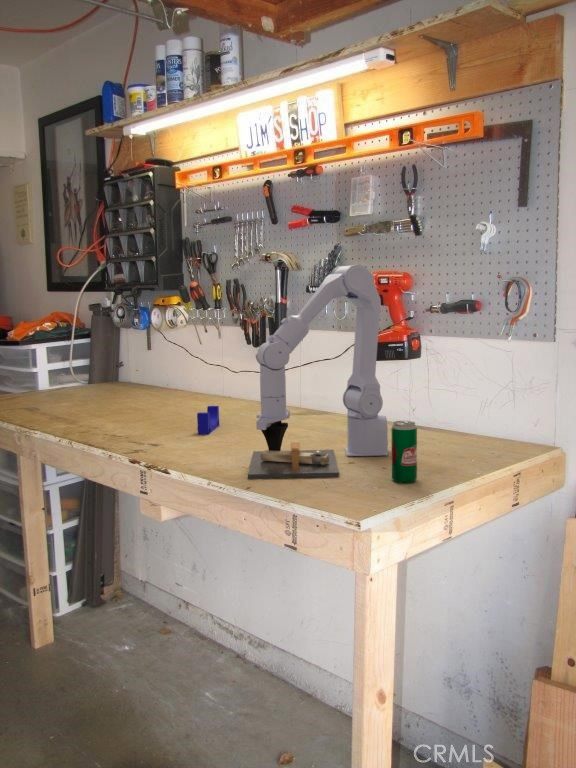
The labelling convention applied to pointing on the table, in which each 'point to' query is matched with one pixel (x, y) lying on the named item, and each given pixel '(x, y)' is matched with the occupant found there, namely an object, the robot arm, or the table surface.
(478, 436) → the table surface
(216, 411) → the blue u-shaped block
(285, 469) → the base plate
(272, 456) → the link
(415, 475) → the soda can
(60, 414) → the table surface
